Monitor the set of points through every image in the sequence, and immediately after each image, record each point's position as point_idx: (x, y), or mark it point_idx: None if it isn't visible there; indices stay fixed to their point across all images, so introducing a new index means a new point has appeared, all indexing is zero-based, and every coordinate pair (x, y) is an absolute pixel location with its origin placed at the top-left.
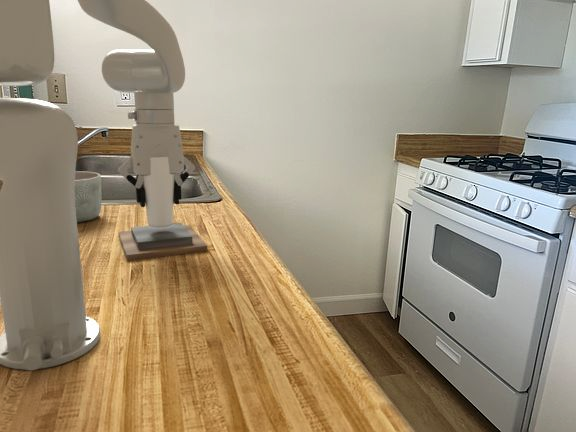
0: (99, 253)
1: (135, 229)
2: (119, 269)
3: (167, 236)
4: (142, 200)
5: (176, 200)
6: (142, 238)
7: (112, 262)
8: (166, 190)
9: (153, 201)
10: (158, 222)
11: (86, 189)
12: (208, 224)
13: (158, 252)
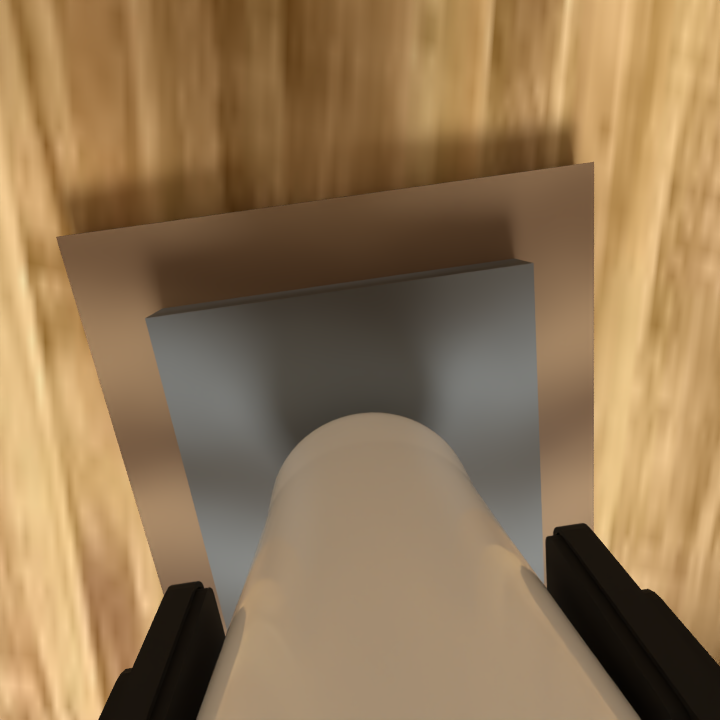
0: (703, 334)
1: (521, 538)
2: (632, 15)
3: (325, 353)
4: (612, 571)
5: (187, 614)
6: (495, 344)
7: (656, 160)
8: (294, 665)
9: (477, 537)
10: (393, 424)
11: None
12: (81, 708)
13: (392, 190)
